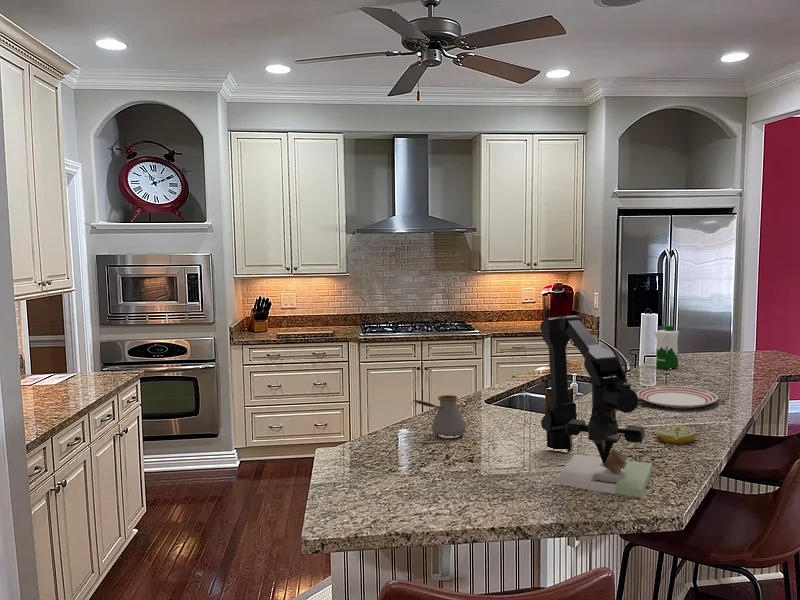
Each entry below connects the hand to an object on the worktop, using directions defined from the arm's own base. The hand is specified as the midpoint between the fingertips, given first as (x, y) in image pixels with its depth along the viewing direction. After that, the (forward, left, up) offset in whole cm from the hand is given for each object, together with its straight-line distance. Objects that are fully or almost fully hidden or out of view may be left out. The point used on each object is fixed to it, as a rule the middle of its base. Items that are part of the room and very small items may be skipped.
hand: (604, 463), depth 153 cm
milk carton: (-1, +152, -4) cm, 152 cm away
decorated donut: (+13, +40, -4) cm, 42 cm away
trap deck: (0, 0, -4) cm, 4 cm away
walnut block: (+2, 0, -1) cm, 2 cm away
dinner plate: (+9, +86, -4) cm, 87 cm away
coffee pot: (-55, +14, -4) cm, 57 cm away
